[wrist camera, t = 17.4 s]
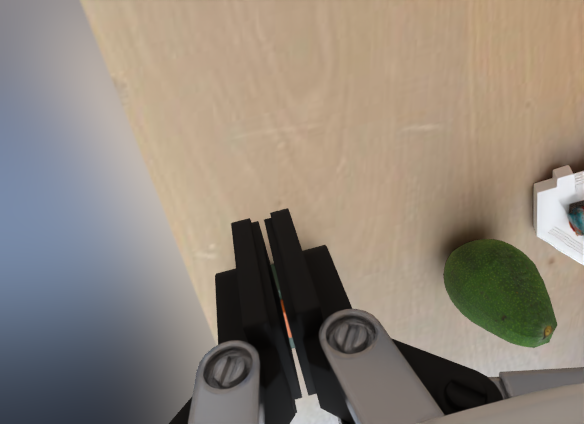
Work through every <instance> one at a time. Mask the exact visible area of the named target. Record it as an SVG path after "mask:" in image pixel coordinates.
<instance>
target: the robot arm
mask: <svg viewBox="0 0 584 424" xmlns="http://www.w3.org/2000/svg"><path fill="white" fill-rule="evenodd" d="M270 215H271V218H269V219H265V220H264V222H265V226H266V230H267V235H268V239H269V243H270V248H271V252H272V256H273V261H274V265H275V270H276V274H277V278H278V283H279V287H280V291H281V296H282V300H283V304H284V309H285V313H286V317H287V321H288V324H289V328H290V331H291V335H292V338H293V342H294V346H295V349H296V353H297V356H298V360H299V363H300V367H301V370H302V374H303V377H304V381H305V384H306V388H307V392H308V395H313V394H316V393H317V396H318V400H319V404H320V408H322V409H324V410H326V411H327V412H329V413H331V414H333V415H335V416H337V418H338V421H339V424H584V367H579V368H562V369H544V370H527V371H510V372H500V373H499V377H487V376H485V375H483V374H481V373H480V372H478V371H476V370H473V369H470V368H468V367H465V366H462V365H460V364H457V363H455V362H452V361H449V360H447V359H444V358H441V357H439V356H436V355H433V354H431V353H428V352H426V351H423V350H420V349H418V348H415V347H412V346H410V345H407V344H404V343H402V342H399V341H397V340H394V339H391V338H390V336H389V335H388V333H387V332H386V331H385V329H384V328H383V326H382V325H381V323H380V322H379V321H378V320H377V319H376V318H375V317H374V316H373V315H372V314H370V313H368V312H366V311H363V310H359V309H352V307H351V304H350V302H349V299H348V297H347V295H346V292H345V290H344V287H343V285H342V282H341V280H340V278H339V275H338V273H337V270H336V268H335V265H334V263H333V261H332V258H331V256H330V253H329V251H328V248H327V246H326V245H323V246H319V247H315V248H312V249H308V250H304V251H302V249H301V246H300V243H299V240H298V237H297V233H296V230H295V227H294V224H293V221H292V218H291V215H290V212H289V209H288V208H287V209H283V210H280V211H276V212H272V213H270ZM231 226H232V235H233V244H234V253H235V262H236V269H232V270H229V271H225V272H221V273H217V274H216V275H215V285H216V306H217V327H218V345H217V346H216V347H214V348H212V349H211V350H210V351H209V352H208V353H207V354H205V356H204V357H203V359H202V360H201V362H200V363H199V366H198V370H197V373H196V379H195V385H194V391H193V396H192V397H191V399H190V400H189V401H188V402H187V403H186V404H185V406H184V407H183V408H182V409H181V410H180V411H179V412H178V414H177V415H176V416H175V417H174V418H173V419H172V421H171V422H170V423H169V424H290V422H291V421H292V419H293V418H294V416H295V413H297V410H296V405H295V399H298V398H302V394H301V390H300V385H299V381H298V376H297V372H296V367H295V363H294V358H293V354H292V349H291V345H290V341H289V336H288V332H287V327H286V323H285V318H284V314H283V309H282V305H281V300H280V296H279V292H278V288H277V285H276V281H275V278H274V274H273V271H272V267H271V264H270V260H269V257H268V253H267V250H266V246H265V243H264V239H263V236H262V232H261V229H260V225H259V222H258V221H257V222H253V223H251V220H250V218H249V219H245V220H241V221H237V222H233V223H231Z"/></svg>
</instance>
